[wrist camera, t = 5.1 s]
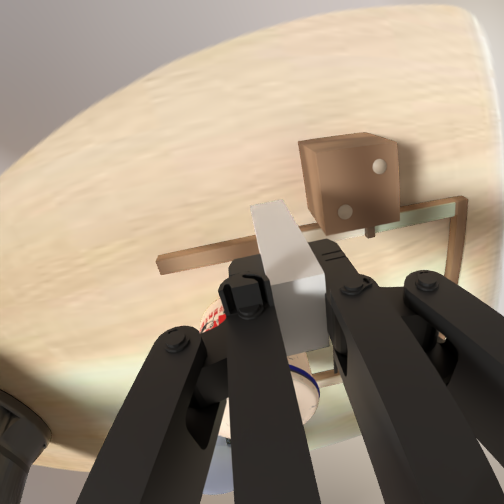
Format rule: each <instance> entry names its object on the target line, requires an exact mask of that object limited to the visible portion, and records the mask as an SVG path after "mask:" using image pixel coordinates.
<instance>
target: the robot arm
mask: <svg viewBox="0 0 504 504" xmlns="http://www.w3.org/2000/svg"><path fill="white" fill-rule="evenodd" d="M250 210H251V214H252V219H253V224H254V229H255V233H256V238H257V243H258V248H259V252H260V254H256V255H251V256H247V257H242V258H237V259H234V260H233V261H232V263H231V264H230V266H229V278H227V279H226V280H225V281H224V282H223V283H222V284H221V285H220V287H219V290H218V292H219V296H220V299H221V302H222V305H223V308H224V312H225V315H226V319H225V320H224V321H223V322H222V323H221V324H219V325H218V326H216V327H214V328H212V329H210V330H208V331H206V332H203V333H201V334H200V333H199V331H198V330H197V329H195V328H194V327H190V326H179V327H174V328H172V329H169V330H167V331H166V332H164V333H163V334H161V335H160V336H159V337H158V339H157V340H156V341H155V343H154V345H153V347H152V348H151V350H150V352H149V354H148V356H147V358H146V360H145V362H144V364H143V366H142V368H141V369H140V371H139V373H138V375H137V377H136V379H135V381H134V383H133V385H132V387H131V389H130V391H129V393H128V395H127V397H126V399H125V401H124V403H123V405H122V407H121V409H120V411H119V413H118V415H117V417H116V419H115V421H114V423H113V425H112V427H111V429H110V431H109V433H108V435H107V437H106V439H105V441H104V444H103V446H102V448H101V450H100V452H99V454H98V456H97V458H96V460H95V463H94V465H93V467H92V469H91V471H90V473H89V476H88V478H87V480H86V482H85V484H84V487H83V489H82V491H81V493H80V496H79V498H78V500H77V502H76V504H200V501H201V497H202V494H203V490H204V486H205V483H206V479H207V475H208V472H209V468H210V464H211V460H212V457H213V453H214V449H215V445H216V442H217V438H218V434H219V430H220V426H221V423H222V419H223V415H224V411H225V407H226V403H227V398H229V417H230V437H231V455H232V472H233V487H234V502H235V504H321V501H320V496H319V492H318V488H317V483H316V479H315V475H314V470H313V466H312V462H311V457H310V453H309V448H308V444H307V439H306V435H305V431H304V427H303V422H302V418H301V414H300V409H299V405H298V401H297V397H296V392H295V388H294V384H293V380H292V375H291V371H290V367H289V363H288V359H287V356H290V355H295V354H299V353H304V352H308V351H312V350H316V349H320V348H324V347H328V346H329V336H330V339H331V341H332V344H333V358H334V374H336V373H338V370H339V373H340V376H341V378H342V381H343V384H344V386H345V389H346V392H347V395H348V397H349V400H350V403H351V405H352V408H353V411H354V414H355V417H356V419H357V422H358V425H359V428H360V431H361V433H362V436H363V439H364V442H365V445H366V448H367V451H368V454H369V456H370V459H371V462H372V465H373V468H374V471H375V474H376V477H377V480H378V483H379V486H380V489H381V492H382V496H383V499H384V502H385V504H504V493H503V491H502V488H501V486H500V484H499V482H498V480H497V478H496V476H495V474H494V472H493V469H492V467H491V465H490V463H489V461H488V460H487V458H486V456H485V454H484V452H483V450H482V448H481V446H480V444H479V442H478V441H477V439H478V440H479V441H480V442H481V444H482V445H483V446H484V447H485V448H486V449H487V450H488V451H489V452H490V453H491V454H492V455H493V456H494V458H495V459H496V460H497V461H498V462H499V463H500V464H501V465H502V466H503V468H504V317H503V316H502V315H501V314H500V313H498V312H497V311H495V310H494V309H492V308H491V307H490V306H488V305H487V304H485V303H484V302H482V301H481V300H479V299H478V298H477V297H475V296H474V295H472V294H471V293H469V292H468V291H466V290H465V289H463V288H462V287H460V286H459V285H457V284H455V283H454V282H452V281H451V280H449V279H448V278H446V277H445V276H443V275H441V274H439V273H437V272H434V271H429V270H420V271H416V272H413V273H411V274H409V275H408V276H407V277H406V279H405V282H404V287H379V286H378V284H377V283H376V282H375V281H374V280H373V279H372V278H371V277H368V276H365V275H362V274H359V273H358V272H357V271H356V269H355V268H354V266H353V265H352V264H351V262H350V261H349V259H348V258H347V257H346V255H345V254H344V252H343V251H342V250H341V248H340V247H339V246H338V244H337V243H335V242H333V241H331V240H329V239H327V238H326V239H321V240H317V241H312V242H307V241H306V239H305V237H304V236H303V234H302V232H301V230H300V229H299V227H298V225H297V223H296V222H295V220H294V218H293V216H292V215H291V213H290V211H289V209H288V208H287V206H286V204H285V203H284V201H283V199H281V200H276V201H271V202H266V203H261V204H256V205H252V206H250ZM439 332H440V333H441V334H442V335H444V336H445V337H446V340H443V339H442V338H440V337H439ZM50 438H51V431H50V429H49V428H48V426H47V425H46V424H45V423H44V422H43V421H42V419H40V418H39V417H38V416H37V415H36V414H35V413H34V412H33V411H31V410H30V409H29V408H28V407H26V406H25V405H24V404H22V403H21V402H19V401H18V400H16V399H15V398H13V397H12V396H10V395H8V394H7V393H5V392H3V391H1V390H0V504H20V502H21V498H22V494H23V490H24V487H25V483H26V479H27V476H28V473H29V469H30V467H31V465H32V464H33V462H34V461H35V460H36V459H37V458H38V457H39V455H40V454H41V453H42V452H43V450H44V449H45V448H46V447H47V446H48V444H49V441H50Z"/></svg>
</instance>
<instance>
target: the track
mask: <svg viewBox="0 0 504 504" xmlns="http://www.w3.org/2000/svg"><path fill="white" fill-rule="evenodd" d="M467 208H468V199H466V198H465V197H463V196H457V197H452V198H446V199H440V200H435V201H429V202H424V203H418V204H413V205H407V206H402V207H400V221H398V222H393V223H388V224H383V225H379V226H374V227H369V228H364V229H359V230H354V231H349V232H344V233H339V234H334V235H329V236H326V235H325V234H324V232H323V231H322V229H321V227H320V226H319V224H318V223H313V224H308V225H303V226H298V227H299V229H300V230H301V232H302V234H303V236H304V237H305V239H306V241H307V242H312V241H317V240H321V239H326V238H327V239H329V240H331V241H333V242H334V241H339V240H344V239H348V238H353V237H358V236H363V235H365V236H366V237H367V238H372V237H375V233H377V232H382V231H387V230H392V229H396V228H401V227H406V226H411V225H415V224H420V223H425V222H430V221H434V220H439V219H444V218H448V217H451V221H450V233H449V243H448V252H447V260H446V268H445V275H444V276H445V277H446V278H448V279H449V280H451V281H452V282H454V283H455V284H458V278H459V272H460V267H461V260H462V253H463V246H464V238H465V230H466V220H467ZM256 254H260V252H259V248H258V243H257V238H256V235H253V236H248V237H244V238H239V239H234V240H229V241H224V242H220V243H215V244H210V245H205V246H201V247H196V248H191V249H186V250H182V251H177V252H172V253H168V254H163V255H159V256H158V258H157V260H156V264H157V266H158V269H159V272H160V274H161V275H165V274H170V273H175V272H180V271H185V270H190V269H195V268H200V267H205V266H210V265H215V264H219V263H224V262H229V261H233V260H234V259H237V258H242V257H247V256H251V255H256ZM439 337H440V338H442V339H443V340H444V339H445V336H444V335H442V334H441V333H440V332H439ZM312 377H313V378H314V379H315V381H316V382H317V384H318V387H319V388H322V387H326V386H331V385H335V384H339V383H343V381H342V378H341V376H340V373H339V370H338V373H336V374H334V369H333V370H329V371H324V372H320V373H316V374H312Z"/></svg>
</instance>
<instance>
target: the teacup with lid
mask: <svg viewBox="0 0 504 504" xmlns="http://www.w3.org/2000/svg"><path fill="white" fill-rule="evenodd" d="M225 319H226V315H225V312H224V308H223V305H222V302H221V299H220V298H219V299H217V300H216V301H215V302H213V303H212V304H211V305H210V306H209V307H208V308H207V310H206V311H205V313H204V314H203V317H202V319H201V323H200V330H199V333H200V334H201V333H203V332H206V331H208V330H210V329H212V328H214V327H216V326H218V325H219V324H221V323H222V322H223V321H224V320H225ZM287 359H288V363H289V367H290V371H291V375H292V380H293V384H294V388H295V392H296V397H297V401H298V405H299V409H300V414H301V418H302V422H303V425H304V424H305V423H306V422H307V421H308V420H309V419H310V418H311V417H312V416H313V414H314V413H315V411H316V409H317V407H318V403H319V397H320V391H319V387H318V384H317V382H316V381H315V379H314V378H313V377H312V373H311V369H310V366H309V362H308V358H307V354H306V352H304V353H299V354H295V355H290V356H287ZM218 435H219V436H222V437H226V438H230V439H231V437H230V417H229V398H227V403H226V407H225V411H224V415H223V419H222V423H221V426H220V430H219V434H218Z"/></svg>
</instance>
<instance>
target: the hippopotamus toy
mask: <svg viewBox="0 0 504 504" xmlns="http://www.w3.org/2000/svg"><path fill="white" fill-rule="evenodd" d="M231 491H234V487H233V472H232V455H231V444H227V442H226V437H222V436H219V435H218V438H217V442H216V445H215V449H214V453H213V457H212V460H211V464H210V468H209V472H208V475H207V479H206V483H205V486H204V490H203V494H208V495H215V494H224V493H228V492H231Z"/></svg>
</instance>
